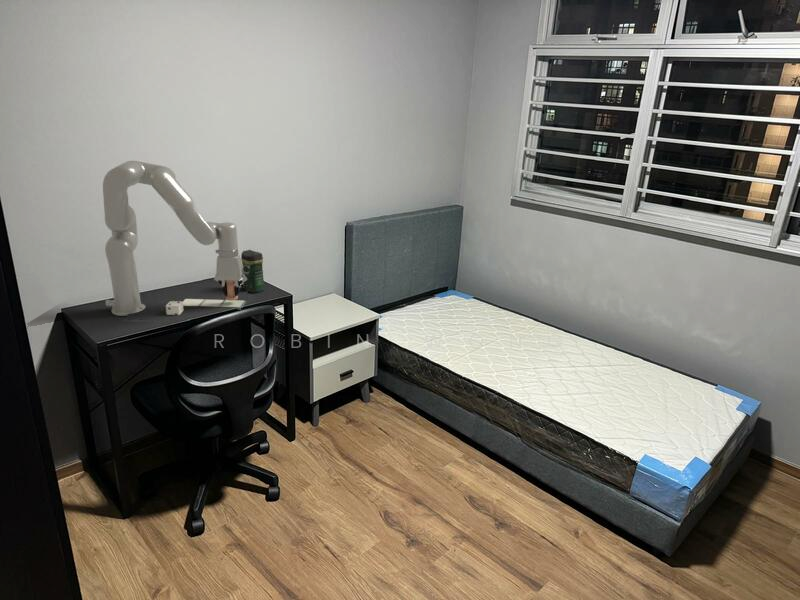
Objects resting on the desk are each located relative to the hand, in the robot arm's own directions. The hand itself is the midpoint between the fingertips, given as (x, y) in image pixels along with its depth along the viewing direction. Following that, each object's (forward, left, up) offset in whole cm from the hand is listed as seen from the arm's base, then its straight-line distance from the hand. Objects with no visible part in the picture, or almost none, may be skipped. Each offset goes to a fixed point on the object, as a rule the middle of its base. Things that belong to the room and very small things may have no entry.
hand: (231, 294), depth 237 cm
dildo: (0, 0, -2) cm, 2 cm away
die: (-20, -12, -5) cm, 24 cm away
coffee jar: (+4, +21, -5) cm, 22 cm away
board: (-9, 0, -5) cm, 10 cm away
